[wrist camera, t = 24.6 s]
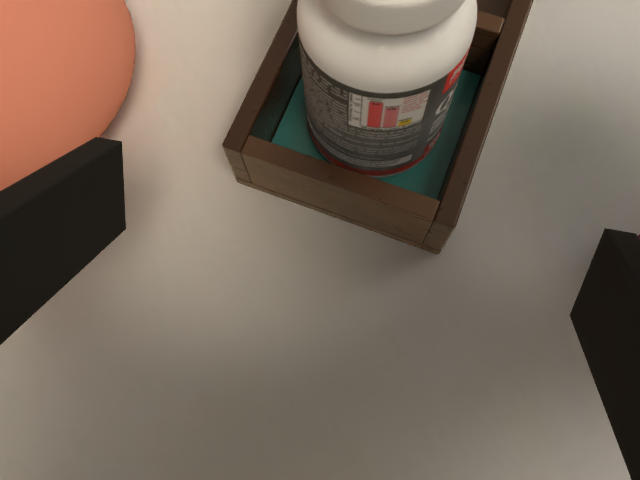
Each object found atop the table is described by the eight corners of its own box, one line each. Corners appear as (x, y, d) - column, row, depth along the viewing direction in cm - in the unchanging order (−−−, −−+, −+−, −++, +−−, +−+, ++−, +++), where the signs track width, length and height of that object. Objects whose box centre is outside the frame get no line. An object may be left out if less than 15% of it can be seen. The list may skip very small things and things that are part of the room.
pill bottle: (451, 174, 24) (526, 12, 14) (314, 190, 24) (299, 38, 14) (428, 56, 25) (481, -159, 16) (301, 71, 25) (278, -136, 16)
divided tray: (549, -64, 28) (577, -129, 25) (438, 255, 23) (455, 228, 20) (374, -111, 29) (379, -180, 26) (236, 182, 25) (220, 145, 21)
